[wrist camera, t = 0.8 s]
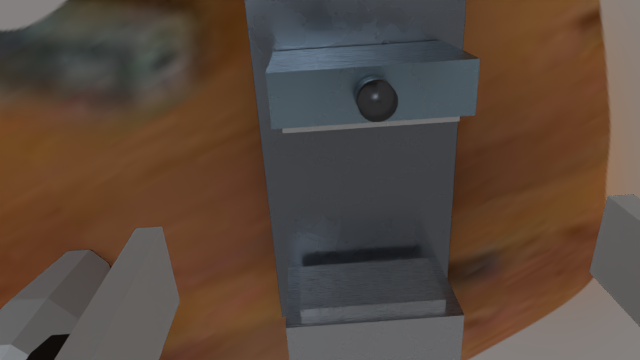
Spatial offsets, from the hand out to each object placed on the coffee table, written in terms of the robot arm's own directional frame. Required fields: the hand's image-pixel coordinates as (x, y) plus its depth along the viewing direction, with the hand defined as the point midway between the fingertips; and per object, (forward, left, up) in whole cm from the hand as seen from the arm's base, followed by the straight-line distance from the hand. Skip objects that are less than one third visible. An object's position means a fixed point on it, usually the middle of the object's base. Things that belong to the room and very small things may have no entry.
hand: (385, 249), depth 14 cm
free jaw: (-1, +1, -19) cm, 19 cm away
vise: (+6, +1, -21) cm, 21 cm away
